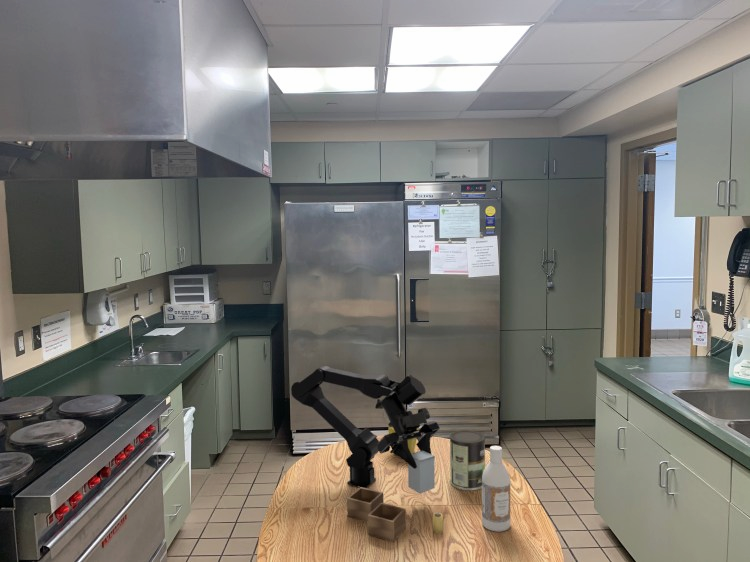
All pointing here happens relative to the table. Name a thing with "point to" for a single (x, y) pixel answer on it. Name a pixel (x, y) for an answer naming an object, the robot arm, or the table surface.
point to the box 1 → (363, 503)
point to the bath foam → (496, 493)
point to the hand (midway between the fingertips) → (423, 465)
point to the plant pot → (410, 442)
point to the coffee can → (467, 459)
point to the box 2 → (387, 522)
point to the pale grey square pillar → (422, 472)
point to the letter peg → (437, 523)
